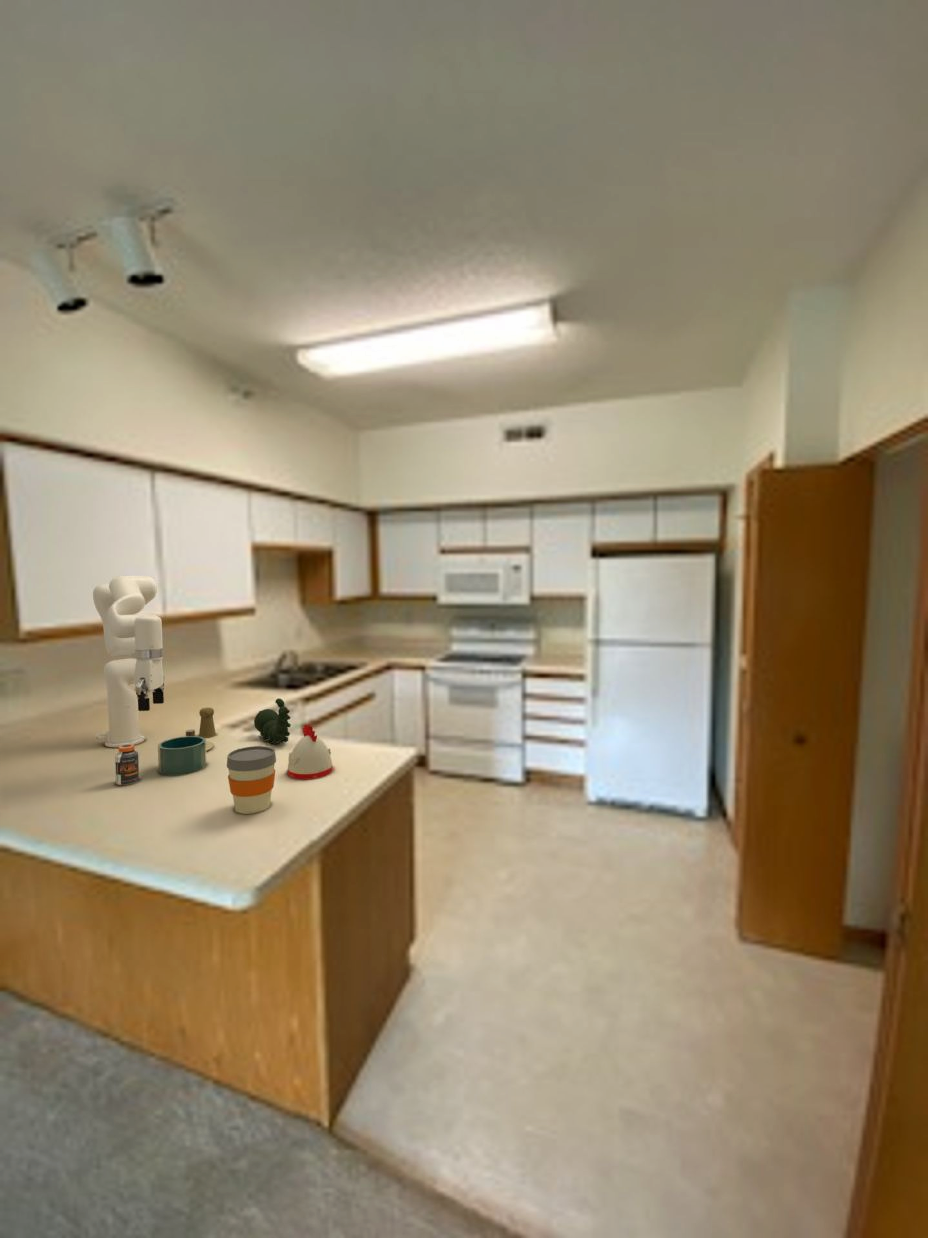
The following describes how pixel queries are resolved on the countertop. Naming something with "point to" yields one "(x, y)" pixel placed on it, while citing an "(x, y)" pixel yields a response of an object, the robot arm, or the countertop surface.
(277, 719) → the toy figurine
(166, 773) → the tin
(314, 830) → the countertop surface
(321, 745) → the kitchen timer
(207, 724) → the cork
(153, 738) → the countertop surface
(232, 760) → the reusable coffee cup
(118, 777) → the pill bottle
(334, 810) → the countertop surface
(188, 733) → the lid
